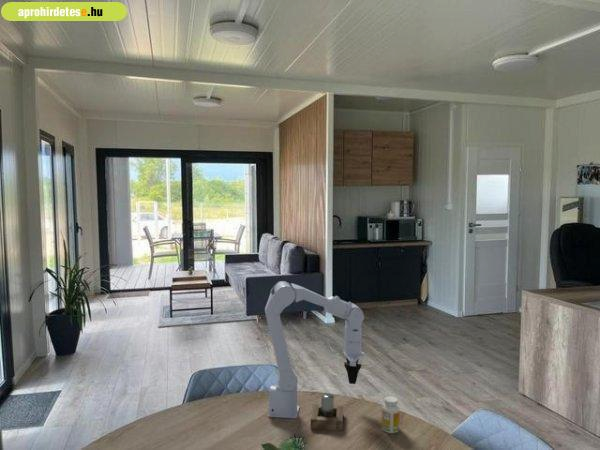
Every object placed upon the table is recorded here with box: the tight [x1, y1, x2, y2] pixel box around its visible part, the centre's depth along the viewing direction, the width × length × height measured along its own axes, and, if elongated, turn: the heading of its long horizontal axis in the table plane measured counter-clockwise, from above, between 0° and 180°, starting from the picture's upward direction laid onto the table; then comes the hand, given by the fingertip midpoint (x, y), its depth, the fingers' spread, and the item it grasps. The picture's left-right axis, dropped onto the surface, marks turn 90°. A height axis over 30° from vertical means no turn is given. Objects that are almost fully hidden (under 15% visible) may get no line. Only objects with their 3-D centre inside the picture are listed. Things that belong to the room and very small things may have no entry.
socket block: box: [310, 403, 344, 432], centre depth 139 cm, size 10×10×3 cm
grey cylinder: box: [320, 392, 335, 418], centre depth 139 cm, size 4×4×8 cm
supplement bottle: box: [381, 395, 401, 434], centre depth 134 cm, size 5×5×10 cm
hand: (352, 378), depth 147 cm, fingers open, 7 cm apart
